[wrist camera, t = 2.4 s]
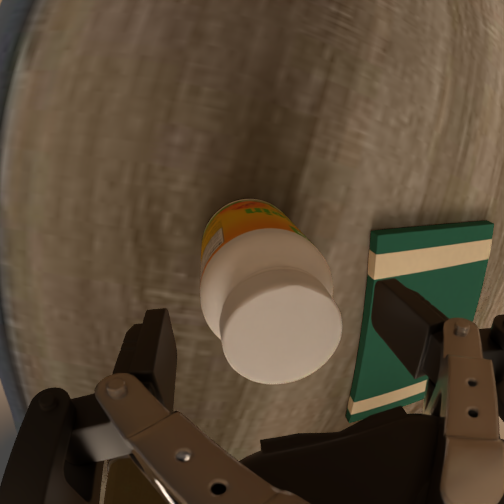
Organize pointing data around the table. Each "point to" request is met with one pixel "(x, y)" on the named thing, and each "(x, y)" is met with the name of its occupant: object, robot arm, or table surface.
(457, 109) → the table surface
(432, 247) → the towel
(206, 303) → the supplement bottle
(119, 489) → the canister
